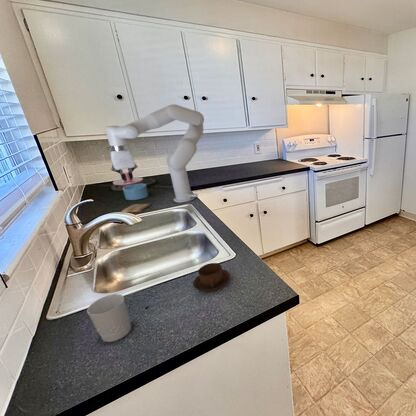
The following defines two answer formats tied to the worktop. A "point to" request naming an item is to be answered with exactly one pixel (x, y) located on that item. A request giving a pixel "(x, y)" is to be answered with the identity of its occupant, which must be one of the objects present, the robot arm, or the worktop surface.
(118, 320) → the white cup
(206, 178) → the worktop surface
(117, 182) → the plate lid
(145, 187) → the bowl
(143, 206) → the trivet
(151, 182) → the decorative plate
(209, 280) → the cup and saucer
